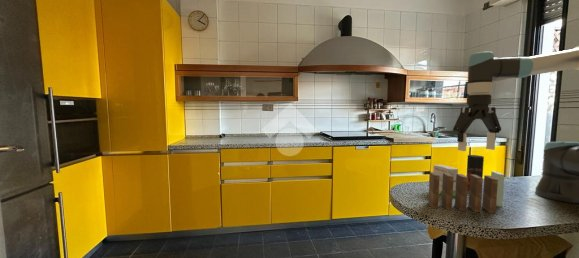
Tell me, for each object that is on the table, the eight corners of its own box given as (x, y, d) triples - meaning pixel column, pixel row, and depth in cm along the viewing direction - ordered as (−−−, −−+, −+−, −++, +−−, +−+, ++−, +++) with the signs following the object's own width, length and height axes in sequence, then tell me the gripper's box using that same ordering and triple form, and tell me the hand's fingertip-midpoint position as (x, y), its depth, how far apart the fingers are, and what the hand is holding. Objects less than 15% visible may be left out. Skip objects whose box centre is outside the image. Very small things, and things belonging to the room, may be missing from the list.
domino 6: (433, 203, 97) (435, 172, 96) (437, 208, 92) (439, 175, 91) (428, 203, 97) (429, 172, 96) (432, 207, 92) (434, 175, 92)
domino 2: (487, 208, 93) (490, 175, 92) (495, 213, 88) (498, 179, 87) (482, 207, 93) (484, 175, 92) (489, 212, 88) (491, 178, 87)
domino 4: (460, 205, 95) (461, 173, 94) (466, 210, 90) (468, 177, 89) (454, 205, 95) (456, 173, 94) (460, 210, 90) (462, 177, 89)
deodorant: (485, 190, 113) (487, 157, 112) (471, 190, 113) (473, 157, 112) (475, 186, 119) (477, 155, 118) (462, 186, 119) (464, 154, 118)
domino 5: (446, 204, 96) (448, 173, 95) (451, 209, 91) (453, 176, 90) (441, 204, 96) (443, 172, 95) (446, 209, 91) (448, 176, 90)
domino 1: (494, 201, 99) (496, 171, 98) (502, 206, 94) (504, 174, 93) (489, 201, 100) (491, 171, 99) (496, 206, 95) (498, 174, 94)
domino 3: (473, 206, 94) (475, 174, 93) (480, 212, 89) (482, 178, 88) (468, 206, 94) (470, 174, 93) (474, 211, 89) (476, 177, 88)
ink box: (457, 197, 104) (459, 168, 104) (447, 197, 103) (449, 169, 103) (441, 190, 113) (442, 164, 112) (431, 191, 112) (432, 164, 111)
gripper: (495, 95, 103) (492, 147, 105) (443, 94, 98) (441, 149, 99) (515, 94, 96) (511, 150, 97) (460, 93, 90) (458, 152, 92)
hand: (476, 150), depth 98 cm, fingers open, 13 cm apart
